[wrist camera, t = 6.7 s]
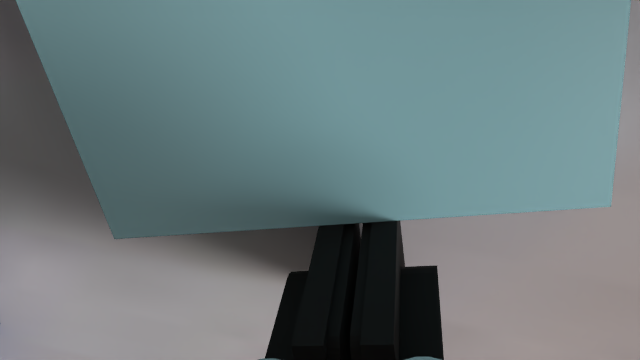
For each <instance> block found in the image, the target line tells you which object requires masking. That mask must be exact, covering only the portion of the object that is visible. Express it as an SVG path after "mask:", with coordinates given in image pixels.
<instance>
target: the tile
mask: <svg viewBox="0 0 640 360" xmlns="http://www.w3.org/2000/svg"><path fill="white" fill-rule="evenodd" d="M16 2H17V5H18V7H19V10H20V12H21V14H22V17H23V19H24V22H25V24H26V26H27V29H28V31H29V34H30V36H31V39H32V41H33V43H34V46H35V48H36V51H37V53H38V55H39V58H40V60H41V63H42V65H43V68H44V70H45V72H46V75H47V77H48V80H49V82H50V84H51V87H52V89H53V92H54V94H55V96H56V99H57V101H58V104H59V106H60V109H61V111H62V113H63V116H64V118H65V121H66V123H67V125H68V128H69V130H70V133H71V135H72V138H73V140H74V142H75V145H76V147H77V150H78V152H79V154H80V157H81V159H82V162H83V164H84V167H85V169H86V171H87V174H88V176H89V179H90V181H91V183H92V186H93V188H94V191H95V193H96V196H97V198H98V200H99V203H100V205H101V208H102V210H103V212H104V215H105V217H106V220H107V222H108V225H109V227H110V229H111V232H112V234H113V237H114V239H123V238H138V237H154V236H169V235H184V234H200V233H215V232H230V231H246V230H261V229H276V228H291V227H307V226H321V225H337V224H353V223H368V222H383V221H399V220H414V219H429V218H444V217H460V216H475V215H490V214H506V213H521V212H536V211H552V210H567V209H582V208H597V207H611V201H612V191H613V180H614V170H615V160H616V149H617V139H618V129H619V119H620V108H621V98H622V88H623V77H624V67H625V57H626V47H627V36H628V26H629V16H630V5H631V0H16Z"/></svg>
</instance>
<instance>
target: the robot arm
mask: <svg viewBox="0 0 640 360" xmlns="http://www.w3.org/2000/svg"><path fill="white" fill-rule="evenodd" d="M259 360H444V356H443V342H442V328H441V314H440V300H439V286H438V273H437V266H416V267H405V262H404V253H403V244H402V235H401V226H400V220H399V221H383V222H368V223H363V229H362V237H361V236H360V229H359V223H353V224H337V225H321V226H319V229H318V233H317V237H316V241H315V246H314V250H313V254H312V259H311V263H310V267H309V271H297V272H290V273H289V275H288V278H287V281H286V285H285V288H284V292H283V295H282V299H281V302H280V306H279V310H278V313H277V317H276V320H275V324H274V328H273V331H272V335H271V338H270V342H269V345H268V349H267V353H266V356H265V359H259Z"/></svg>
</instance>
